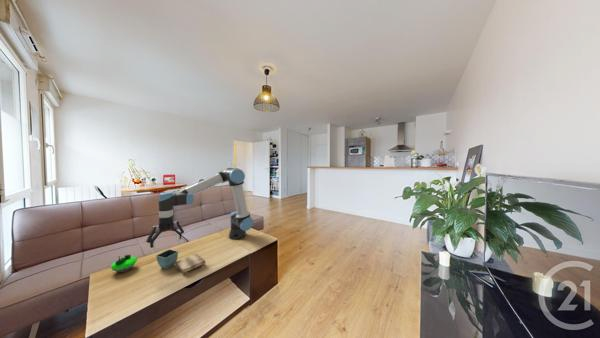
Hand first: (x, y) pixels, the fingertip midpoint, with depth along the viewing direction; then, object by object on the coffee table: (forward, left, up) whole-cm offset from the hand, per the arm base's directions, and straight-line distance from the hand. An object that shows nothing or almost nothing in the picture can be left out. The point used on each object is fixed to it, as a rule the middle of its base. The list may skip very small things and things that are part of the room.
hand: (166, 248), depth 118 cm
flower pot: (0, 0, -13) cm, 13 cm away
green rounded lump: (+18, -17, -13) cm, 28 cm away
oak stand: (-9, +13, -13) cm, 20 cm away
